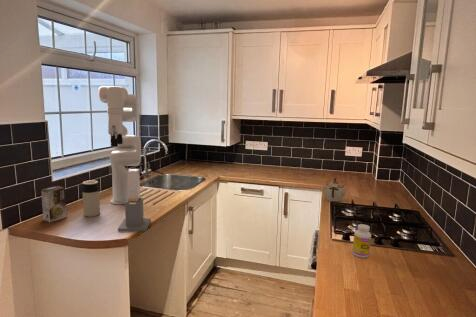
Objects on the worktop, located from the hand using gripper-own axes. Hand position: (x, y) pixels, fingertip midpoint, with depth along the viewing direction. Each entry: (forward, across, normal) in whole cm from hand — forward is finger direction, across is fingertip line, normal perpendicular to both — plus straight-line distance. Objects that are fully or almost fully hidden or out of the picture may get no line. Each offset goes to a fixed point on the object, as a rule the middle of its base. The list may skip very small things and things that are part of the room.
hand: (116, 145), depth 162 cm
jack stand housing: (+38, +14, +11) cm, 42 cm away
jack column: (+30, +14, +11) cm, 35 cm away
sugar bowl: (+38, -27, +131) cm, 139 cm away
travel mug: (+38, -3, -15) cm, 41 cm away
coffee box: (+38, +3, -31) cm, 50 cm away
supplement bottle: (+38, +48, +111) cm, 127 cm away
